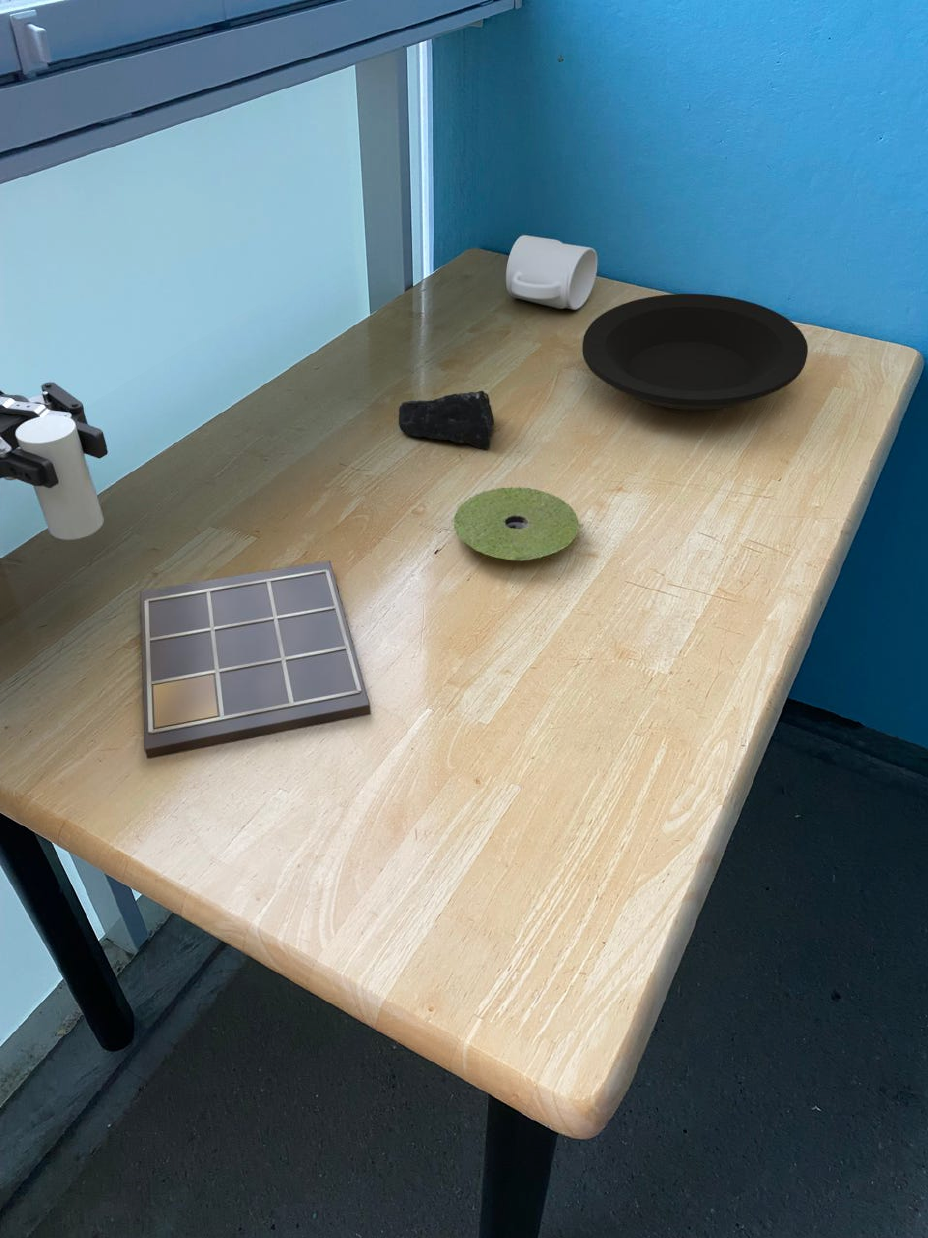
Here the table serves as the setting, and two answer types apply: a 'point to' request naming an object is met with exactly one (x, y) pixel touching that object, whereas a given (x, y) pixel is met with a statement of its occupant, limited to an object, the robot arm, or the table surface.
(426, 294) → the table surface
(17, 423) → the robot arm
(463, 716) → the table surface
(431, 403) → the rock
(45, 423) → the tall white cylinder
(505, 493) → the green grinding disc
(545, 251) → the mug
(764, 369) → the plate
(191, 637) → the board
